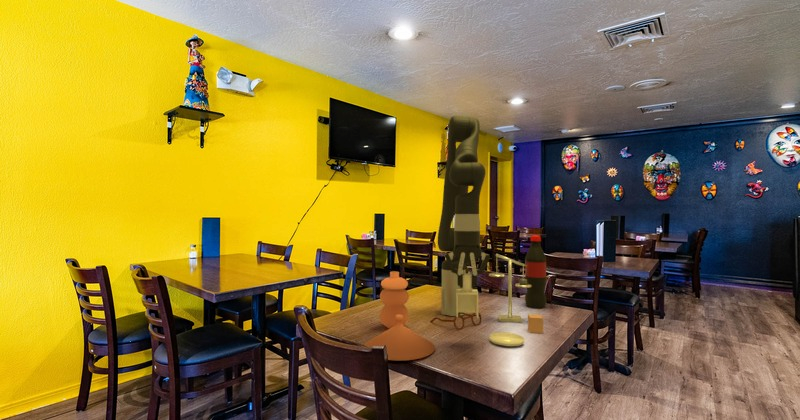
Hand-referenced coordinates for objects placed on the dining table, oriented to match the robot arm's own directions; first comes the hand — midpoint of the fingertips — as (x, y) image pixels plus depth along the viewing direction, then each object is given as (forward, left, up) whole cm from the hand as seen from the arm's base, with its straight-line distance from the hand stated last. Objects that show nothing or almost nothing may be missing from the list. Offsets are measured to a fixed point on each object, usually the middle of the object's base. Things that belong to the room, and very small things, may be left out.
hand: (467, 287), depth 112 cm
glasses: (-3, +23, -18) cm, 29 cm away
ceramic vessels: (-21, +3, -17) cm, 28 cm away
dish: (+12, +4, -17) cm, 21 cm away
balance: (+16, +29, -17) cm, 37 cm away
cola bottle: (+30, +51, -17) cm, 62 cm away
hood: (0, 0, -8) cm, 8 cm away
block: (+23, +17, -17) cm, 33 cm away
